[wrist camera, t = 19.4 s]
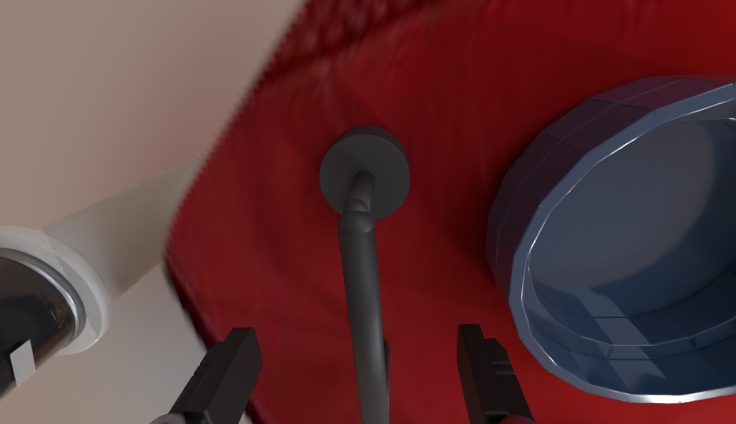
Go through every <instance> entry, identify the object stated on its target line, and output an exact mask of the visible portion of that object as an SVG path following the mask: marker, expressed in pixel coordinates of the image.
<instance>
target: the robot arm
mask: <svg viewBox="0 0 736 424" xmlns="http://www.w3.org/2000/svg"><path fill="white" fill-rule="evenodd" d="M85 324H86V312H85V308H84V305H83V302H82V300H81V298H80V296H79V295H78V293H77V292H76V290H75V289H74V287H73V286H72V285H71V284H70V283H69V281H68V280H67V279H66V278H65V277H64V276H63V275H61V274H60V273H59V272H58V271H57V270H55V269H54V268H53V267H51V266H50V265H48V264H47V263H45V262H44V261H42V260H40V259H38V258H36V257H34V256H32V255H29V254H27V253H24V252H21V251H18V250H14V249H8V248H0V401H1V400H2V399H4V398H5V397H6V396H7V395H8V394H9V393H11V392H12V391H13V390H14V389H15V388H17V387H19V386H20V385H21V384H23V383H24V382H25V381H26V380H27V379H28V378H30V377H31V376H32V375H33V374H34V373H35V372H36V371H37V370H38V369H39V368H40V367H41V366H42V365H44V364H45V363H46V362H47V361H48V360H49V359H51V358H52V357H53V356H54V355H55V354H56V353H58V352H59V351H60V350H61V349H63V348H65V347H66V346H68V345H69V344H70V343H71V342H73V341H74V340H75V339H76V338H77V337H78V336H79V335H80V334H81V333H82V332H83V330H84V327H85ZM457 363H458V370H459V375H460V380H461V384H462V389H463V393H464V398H465V402H466V407H467V411H468V416H469V421H470V424H537V423H536V422H535V420H534V419H533V417H532V415H531V412H530V410H529V407H528V405H527V402H526V400H525V397H524V395H523V392H522V390H521V387H520V385H519V382H518V380H517V377H516V375H515V372H514V370H513V367H512V365H511V363H510V360H509V357H508V355H507V352H506V350H505V349H504V348H503V346H502V345H501V344H500V343H499V342H498V341H497V340H496V339H484V337H483V334H482V331H481V328H480V326H479V324H461V325H458V342H457ZM261 367H262V355H261V351H260V347H259V344H258V340H257V336H256V333H255V330H254V328H252V327H250V328H233V329H232V330H231V331H230V333H229V334H228V336H227V338H226V339H225V341H224V342H218V343H217V344H216V345H215V346H214V347H212V348H211V349H210V350H209V351H208V352H207V353H206V355H205V357H204V358H203V360H202V362H201V363H200V366H198V368H197V369H196V371H195V372H194V376H192V377H191V379H190V380H189V382H188V383H187V385H186V386H185V388H184V390H183V391H182V393H181V394H180V396H179V397H178V399H177V401H176V402H175V404H174V405H173V407H172V408H171V410H170V411H169V413H168V414H166V415H163V416H161V417H158V418H157V419H155V420H154V421H152V422H151V423H150V424H238V423H239V421H240V419H241V416H242V414H243V412H244V409H245V407H246V405H247V402H248V400H249V398H250V395H251V393H252V390H253V388H254V386H255V383H256V381H257V379H258V376H259V374H260V371H261Z"/></svg>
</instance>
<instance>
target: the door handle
mask: <svg viewBox="0 0 736 424" xmlns="http://www.w3.org/2000/svg"><path fill="white" fill-rule="evenodd" d="M319 184H320V188H321V191H322V194H323V196H324V198H325V199H326V201H327V202H328V204H329V205H330V206H331V207H332V208H333V209H334V210H335V211H336V212H338V213H339V214H341V216H340V218H339V220H338V234H339V243H340V251H341V259H342V267H343V275H344V283H345V291H346V299H347V308H348V316H349V324H350V332H351V340H352V348H353V356H354V364H355V372H356V381H357V389H358V397H359V405H360V413H361V421H362V424H389V377H390V346H389V344H388V343H387V342H386V341H385V340H383V330H382V317H381V304H380V290H379V277H378V263H377V250H376V237H375V224H374V221H376V220H380V219H383V218H385V217H387V216H389V215H391V214H392V213H394V212H395V211H396V210H397V209H398V208H399V207H400V206H401V205H402V203H403V202H404V200H405V199H406V196H407V194H408V191H409V187H410V170H409V162H408V156H407V153H406V150H405V148H404V147H403V145H402V143H401V142H400V141H399V140H398V138H397V137H396V136H394V135H393V134H392V133H390V132H389V131H387V130H385V129H383V128H380V127H376V126H359V127H355V128H352V129H350V130H348V131H346V132H344V133H343V134H342V135H341V136H339V138H338V139H337V140H336V141H335V142H334V143H333V145H332V146H331V147H330V149H329V150H328V151H327V153H326V154H325V156H324V158H323V159H322V162H321V165H320V169H319Z"/></svg>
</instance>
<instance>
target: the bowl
mask: <svg viewBox="0 0 736 424" xmlns="http://www.w3.org/2000/svg"><path fill="white" fill-rule="evenodd" d="M485 254H486V257H487V260H488V264H489V267H490V270H491V273H492V276H493V280H494V283H495V286H496V288H497V290H498V292H499V295H500V297H501V299H502V301H503V304H504V306H505V308H506V310H507V312H508V315H509V317H510V319H511V321H512V324H513V326H514V328H515V330H516V333H517V335H518V337H519V339H520V341H521V342H522V343H523V344H524V346H525V347H526V348H527V349H528V350H529V352H530V353H531V354H532V355H533V356H534V357H535V359H536V360H537V361H538V362H539V363H540V364H541V366H542V367H543V368H544V369H545V370H546V371H548V372H550V373H551V374H553V375H555V376H557V377H558V378H560V379H562V380H564V381H565V382H567V383H569V384H571V385H572V386H574V387H576V388H578V389H579V390H581V391H583V392H587V393H591V394H595V395H599V396H604V397H608V398H612V399H616V400H620V401H624V402H631V403H684V402H690V401H696V400H702V399H707V398H713V397H719V396H725V395H730V394H734V393H736V74H723V73H695V74H681V75H667V76H653V77H645V78H642V79H639V80H636V81H633V82H631V83H628V84H625V85H623V86H620V87H617V88H614V89H612V90H609V91H606V92H604V93H601V94H598V95H595V96H593V97H590V98H588V99H587V100H585V101H584V102H582V103H581V104H579V105H578V106H576V107H575V108H574V109H572V110H571V111H569V112H568V113H566V114H565V115H564V116H562V117H561V118H559V119H558V120H556V121H555V122H554V123H552V124H551V125H549V126H548V127H546V128H545V129H544V130H542V131H541V133H539V134H538V135H537V136H536V137H535V139H534V140H533V141H532V142H531V143H530V144H529V146H528V147H527V148H526V149H525V150H524V152H523V153H522V154H521V155H520V156H519V158H518V159H517V160H516V161H515V162H514V163H513V165H512V166H511V167H510V168H509V169H508V171H507V173H506V174H505V176H504V178H503V181H502V183H501V185H500V187H499V190H498V192H497V194H496V197H495V199H494V201H493V204H492V206H491V208H490V211H489V214H488V221H487V234H486V248H485Z"/></svg>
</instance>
